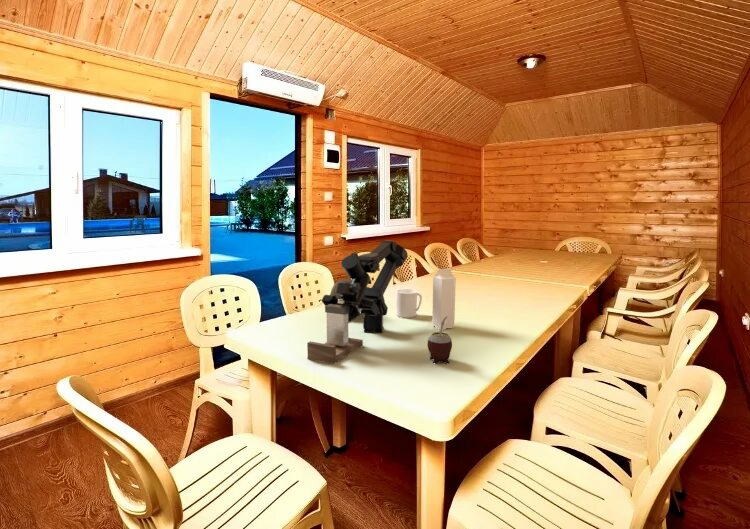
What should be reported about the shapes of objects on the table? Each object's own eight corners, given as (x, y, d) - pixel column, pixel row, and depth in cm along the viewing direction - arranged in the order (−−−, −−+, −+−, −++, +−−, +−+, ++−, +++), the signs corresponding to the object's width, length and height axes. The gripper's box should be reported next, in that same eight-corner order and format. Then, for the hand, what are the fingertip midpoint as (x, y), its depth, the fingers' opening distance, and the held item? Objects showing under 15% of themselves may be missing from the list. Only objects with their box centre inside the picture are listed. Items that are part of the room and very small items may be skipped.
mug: (392, 317, 176) (392, 292, 175) (399, 312, 185) (399, 288, 183) (418, 320, 172) (418, 294, 171) (424, 314, 181) (424, 290, 179)
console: (339, 341, 146) (338, 327, 145) (362, 345, 142) (362, 330, 141) (307, 358, 130) (307, 342, 129) (333, 364, 126) (333, 347, 125)
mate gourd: (435, 355, 133) (436, 307, 131) (458, 361, 128) (459, 311, 126) (421, 362, 127) (422, 312, 125) (445, 368, 122) (446, 316, 120)
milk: (454, 328, 161) (456, 269, 158) (440, 330, 159) (442, 270, 156) (445, 324, 167) (447, 267, 163) (431, 325, 164) (433, 268, 161)
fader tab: (330, 340, 139) (330, 303, 137) (349, 343, 136) (349, 306, 134) (325, 343, 136) (325, 305, 134) (344, 346, 133) (344, 308, 131)
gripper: (324, 270, 143) (305, 310, 135) (374, 274, 135) (357, 317, 127) (337, 289, 151) (319, 328, 143) (385, 295, 143) (370, 336, 135)
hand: (340, 327), depth 137 cm, fingers closed, pressing on fader tab
